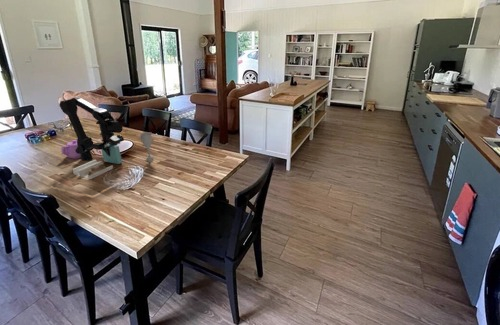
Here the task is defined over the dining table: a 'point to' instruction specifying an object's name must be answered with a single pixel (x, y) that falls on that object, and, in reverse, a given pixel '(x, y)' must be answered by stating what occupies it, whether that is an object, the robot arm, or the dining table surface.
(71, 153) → the teapot
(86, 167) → the rack
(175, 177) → the dining table surface
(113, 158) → the teal flat block
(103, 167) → the offcut stack
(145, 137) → the chalice
